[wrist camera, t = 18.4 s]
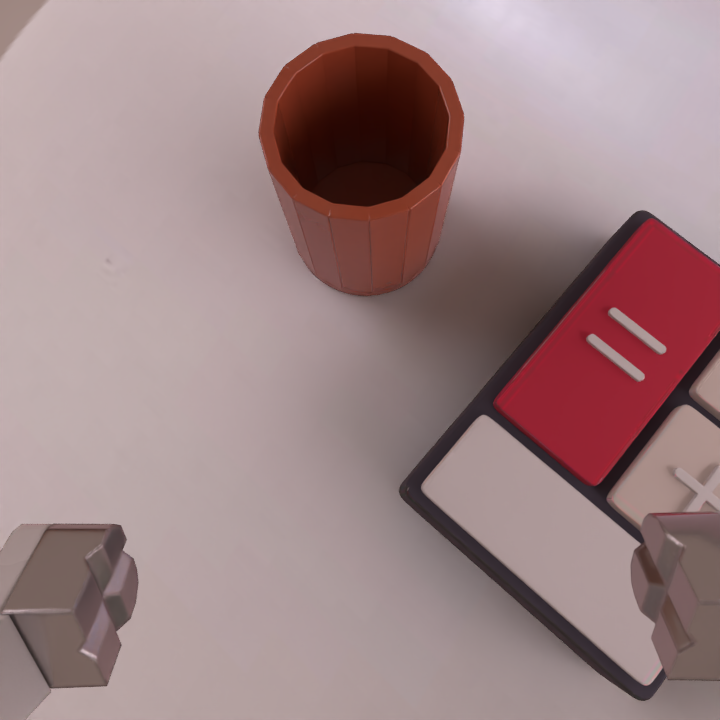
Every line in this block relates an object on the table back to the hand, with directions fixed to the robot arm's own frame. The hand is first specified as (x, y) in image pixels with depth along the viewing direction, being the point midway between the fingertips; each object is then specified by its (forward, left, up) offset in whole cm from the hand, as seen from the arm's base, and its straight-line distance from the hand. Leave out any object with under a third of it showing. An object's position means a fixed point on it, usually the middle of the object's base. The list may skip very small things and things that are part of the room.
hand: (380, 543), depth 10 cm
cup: (-7, -10, -17) cm, 21 cm away
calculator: (-9, +4, -17) cm, 20 cm away
